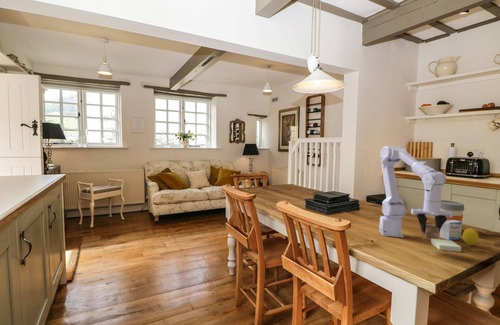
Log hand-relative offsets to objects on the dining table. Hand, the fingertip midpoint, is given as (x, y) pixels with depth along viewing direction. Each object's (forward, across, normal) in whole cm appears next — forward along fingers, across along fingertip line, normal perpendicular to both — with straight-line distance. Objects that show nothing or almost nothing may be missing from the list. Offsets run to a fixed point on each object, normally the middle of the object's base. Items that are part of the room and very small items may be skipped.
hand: (429, 232), depth 108 cm
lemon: (+8, +21, +12) cm, 25 cm away
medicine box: (+8, +17, +20) cm, 27 cm away
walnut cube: (+2, 0, 0) cm, 2 cm away
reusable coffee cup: (+8, +22, +34) cm, 41 cm away
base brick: (+8, +9, +6) cm, 14 cm away
